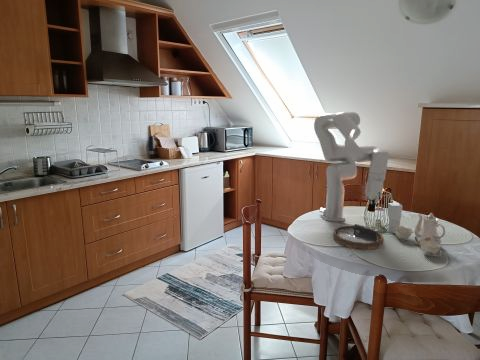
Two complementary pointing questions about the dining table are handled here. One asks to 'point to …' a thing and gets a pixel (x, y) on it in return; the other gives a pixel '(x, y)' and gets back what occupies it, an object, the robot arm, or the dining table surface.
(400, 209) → the skincare box
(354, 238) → the dial
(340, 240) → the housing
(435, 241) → the chinaware
